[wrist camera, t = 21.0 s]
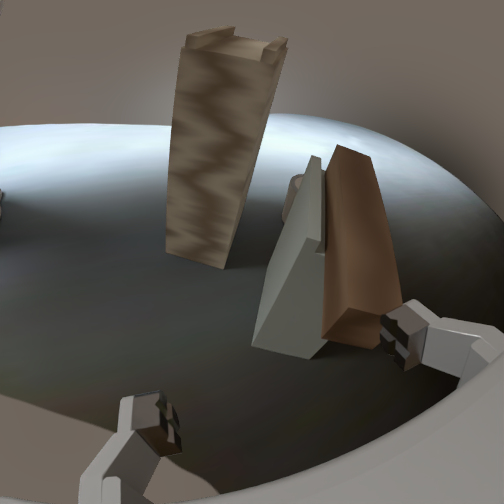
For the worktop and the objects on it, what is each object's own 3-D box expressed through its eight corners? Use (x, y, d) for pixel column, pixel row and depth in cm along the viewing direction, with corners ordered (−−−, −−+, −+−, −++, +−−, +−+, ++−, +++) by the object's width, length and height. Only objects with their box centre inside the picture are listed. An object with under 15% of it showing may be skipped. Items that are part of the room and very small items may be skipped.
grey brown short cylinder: (269, 211, 49) (281, 177, 44) (300, 203, 53) (313, 170, 48) (295, 240, 46) (311, 206, 41) (325, 229, 50) (342, 197, 44)
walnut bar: (320, 338, 17) (348, 307, 14) (324, 173, 29) (337, 144, 27) (372, 349, 17) (404, 321, 14) (356, 184, 29) (370, 156, 27)
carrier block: (251, 345, 33) (306, 237, 20) (267, 267, 41) (311, 155, 29) (309, 359, 34) (394, 265, 21) (315, 280, 42) (375, 178, 29)
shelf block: (165, 252, 39) (183, 34, 19) (195, 195, 48) (224, 25, 28) (223, 269, 40) (279, 52, 20) (243, 208, 48) (290, 39, 29)
